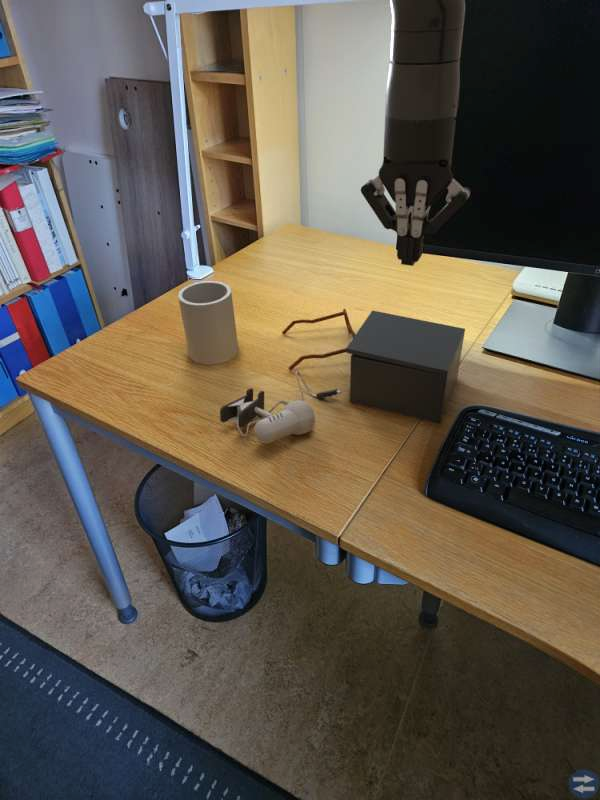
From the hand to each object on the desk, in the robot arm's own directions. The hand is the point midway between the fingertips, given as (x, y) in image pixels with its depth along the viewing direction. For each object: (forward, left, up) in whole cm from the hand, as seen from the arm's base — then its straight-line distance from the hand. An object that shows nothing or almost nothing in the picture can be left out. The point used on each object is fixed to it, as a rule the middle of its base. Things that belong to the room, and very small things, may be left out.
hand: (409, 262), depth 70 cm
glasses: (+19, -15, -26) cm, 36 cm away
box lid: (+1, -8, -17) cm, 19 cm away
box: (+1, -8, -26) cm, 27 cm away
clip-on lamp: (+16, +6, -26) cm, 31 cm away
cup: (+37, -7, -26) cm, 46 cm away
